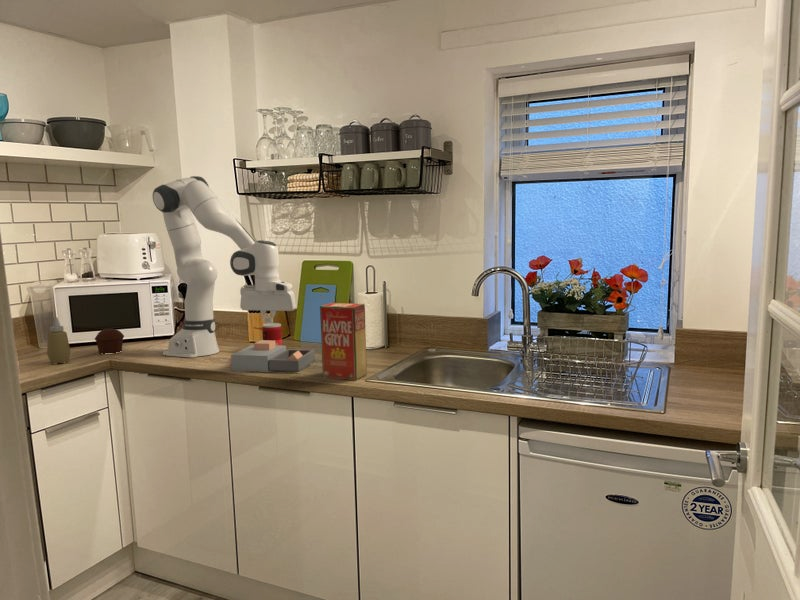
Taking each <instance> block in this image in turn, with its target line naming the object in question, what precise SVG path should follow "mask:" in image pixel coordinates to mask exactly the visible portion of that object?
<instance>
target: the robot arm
mask: <svg viewBox="0 0 800 600" xmlns="http://www.w3.org/2000/svg"><path fill="white" fill-rule="evenodd" d="M152 201H153V204H154V207H156V209H157V210H158V211H160V212H161V213H162V215H163V217H162V218H163V220H164V221H163V222H164V225H165V228H166V231H167V234H168V237H169V240H170V243H171V245H172V248H173V253H174V259H175V264H176V274H177V276H178V278H179V279H180V280H181V281H182V282H183V283H184V284H186V285H187V286H186V294H185V298H184V300H183V303H184V316H185V317H184V319H183V321H180V322H179V326H182V327H181V329H179V331H178V332H176V334H174V335H173V336H171V338H169V341H168V345H167V346H168V347H167V349H166V350H164V351H163V352H162V355H163V356H165V355H166V357H167V356H169V357H180V358H196V357H201V356H203V357H204V356H209V355H210V356H211V355H215V354H218V353H219V352H220V348H219V345H218V341H217V338H216V336H217V335H216V319H215V317H214V305H213V304H214V303H213V302H214V301H213V300H214V291H215V284H216V280H217V278H218V270H217V268H216V266H215V265H214V264H213V263H212V262H211V261H209V260H207V259H204V257H203V254H202V247H201V246H202V245H201V244H202V241H201V237H200V235H199V231H198V228H197V225H196V223H195V220H197V222H198V223H199V224H200V225H201V226H202V227H203V228H205V229H206V230H209V231H213V232H216V233H219V234H223V235H225V236H227V237H228V238H230V239H231V240H232V241H233V242H234V243H235V244H236V245H237V247H238V248H239V250H236V251H234V252H233V253H232V254H231V256H230V260H229V265H230V269H231V270H232V272H233V273H234V274H236V275H237V276H242V277H246V276H254V284H249V285H248V284H244V285H243V286H241V287H240V309H241V310H242V311H260V314H261V316H262V318H263V324H268V323H274V317H275V315H276V313H277V312H276V311H279V312H280V311H281V312H285V311H286V312H292V311H294V310H295V309H296V308H297V305H296V303H297V302H296V296H295V293H294V291H293V287H294V286H293V284H292V283H290V282H287V281H284V280H282V279H280V278H281V277H280V273H279V268H280V255H279V254H280V253H279V249H278V246H277V244H276V243H275V242H273V241H269V240H262V239H261V240H255V239H254V238H253V237H252V236H251V234H250V233H249V232H248V231H247V229H246V228H245V227H244V226H243V225H242V224H241V222H239V221H238V219H236V217H234V215H232V214H231V212H230V211H229V210H228V209H227V208H226V206H225V205H224V204H223V203H222V201H221V199H219V197H218V196H217V194H216V193H215V192H214V191H213V190H212V189H211V188H210V186H209V184H208V182H207V181H206V179H205V178H204V177H202V176H196V175H194V176H190V177H184V178H179V179H176V180H173V181H170V182H168V183H165V184H161V185H159V186H156V187H155V188H154V189H153V192H152ZM193 216H194V217H195V219H194V217H193ZM267 311H269V312H270V316H269V317H268V316H267V314H266V313H267Z"/></svg>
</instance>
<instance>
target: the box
mask: <svg viewBox="0 0 800 600" xmlns="http://www.w3.org/2000/svg"><path fill="white" fill-rule="evenodd" d="M298 350H299V352H300V353H301V354H302V355H303V356H302V357H300V358H299V359H297V360H287V359H288V358H289V357H290V356H291V355H292V354H294V353H295V352H297V351H298ZM315 351H316V350H315V349H289V348H288V349H287V348H286V350H285V351H284V352H282V353H280V354H278V355H277V356H275V357H273V358H271V359H270V360H269V373H279V372H300V371H301V370H302V371H304V370H305V369H307V368H308V367H310V366H311V365H312V364H313V362H314V361H315V362H316V352H315ZM315 362H314V363H315ZM311 363H312V364H311ZM310 364H311V365H310ZM307 366H308V367H307ZM306 367H307V368H306ZM304 368H305V369H304ZM303 369H304V370H303ZM302 371H301V372H302ZM301 372H300V373H301Z"/></svg>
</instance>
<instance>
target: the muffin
mask: <svg viewBox="0 0 800 600" xmlns="http://www.w3.org/2000/svg"><path fill="white" fill-rule="evenodd" d="M124 337H125V335H124V334H123V332H121V331H120V330H118V329H116V328H109V327H108V328H104V329H102V330H100V331H99V332H97V334H96V335H95V338H94V341H96V346H97V350H98V353H103V354H105V353H116V352H120V351H122V352H123V343H124ZM120 353H121V352H120Z"/></svg>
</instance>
